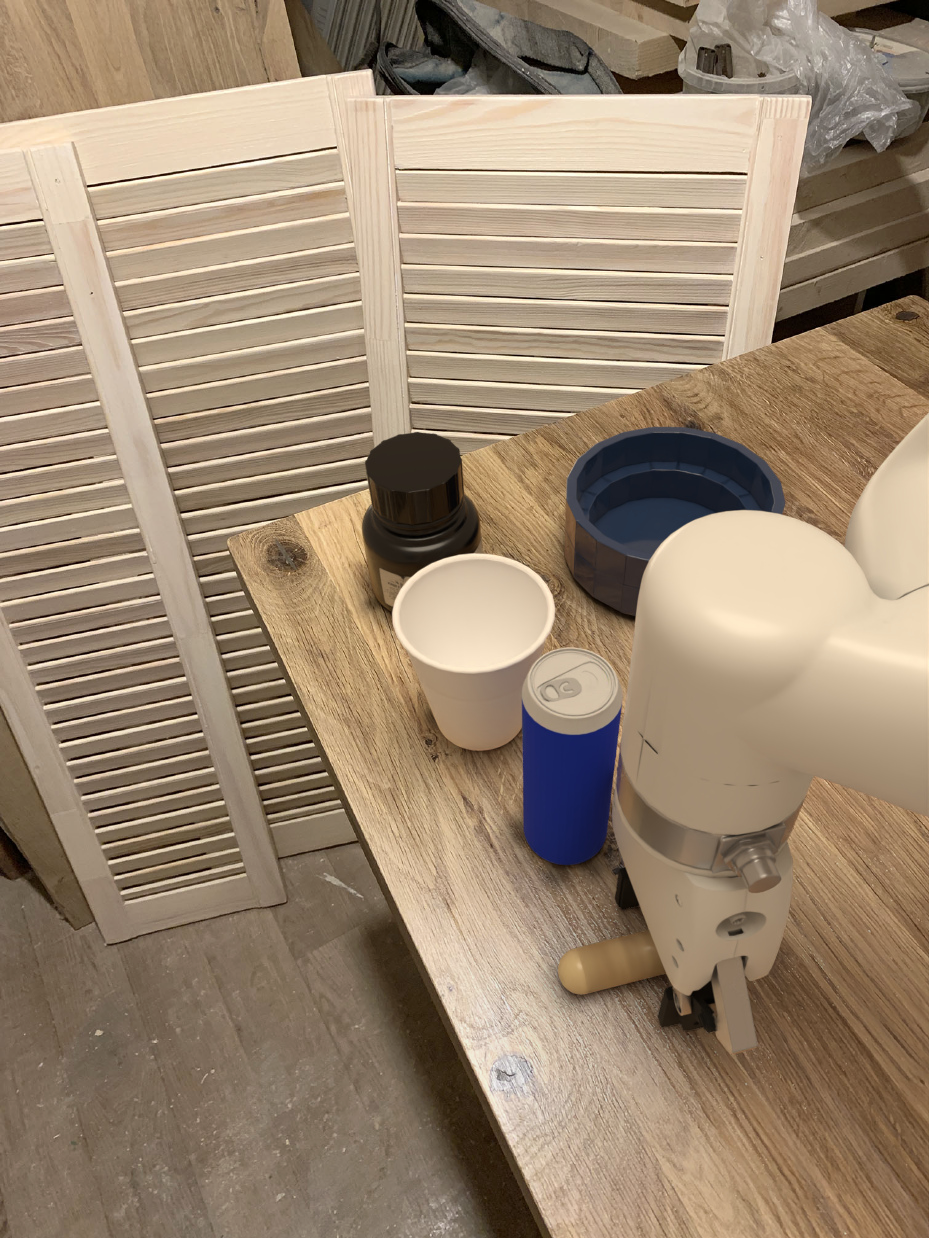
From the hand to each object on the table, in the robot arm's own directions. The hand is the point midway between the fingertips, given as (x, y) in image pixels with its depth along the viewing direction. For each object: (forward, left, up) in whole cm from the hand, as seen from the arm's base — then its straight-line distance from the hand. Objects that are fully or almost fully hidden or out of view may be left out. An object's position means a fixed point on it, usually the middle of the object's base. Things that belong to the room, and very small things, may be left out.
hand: (663, 953), depth 52 cm
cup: (+6, -19, -1) cm, 20 cm away
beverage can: (+3, -9, -1) cm, 10 cm away
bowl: (-12, -31, -1) cm, 33 cm away
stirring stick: (0, 0, -1) cm, 1 cm away
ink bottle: (+7, -33, -1) cm, 34 cm away
